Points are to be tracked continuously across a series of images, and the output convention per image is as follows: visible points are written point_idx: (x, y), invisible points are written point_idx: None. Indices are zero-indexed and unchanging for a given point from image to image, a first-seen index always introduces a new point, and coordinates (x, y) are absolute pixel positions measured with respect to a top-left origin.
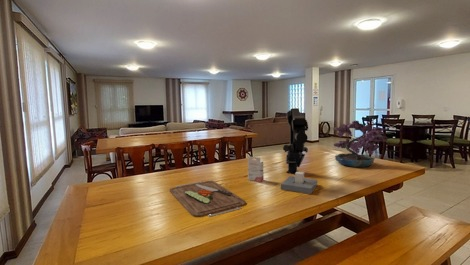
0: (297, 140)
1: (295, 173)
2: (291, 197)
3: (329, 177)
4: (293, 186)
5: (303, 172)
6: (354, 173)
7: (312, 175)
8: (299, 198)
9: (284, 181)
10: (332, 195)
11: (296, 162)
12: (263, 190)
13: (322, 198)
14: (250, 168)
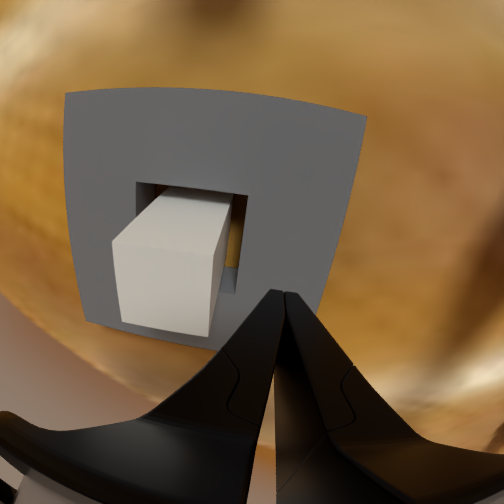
0: None
1: (113, 246)
2: (16, 203)
3: (448, 369)
4: (69, 205)
5: (202, 330)
6: (475, 419)
7: (495, 287)
8: (26, 244)
9: (139, 95)
10: (147, 380)
11: (227, 346)
12: (48, 6)
13: (87, 341)
14: None
